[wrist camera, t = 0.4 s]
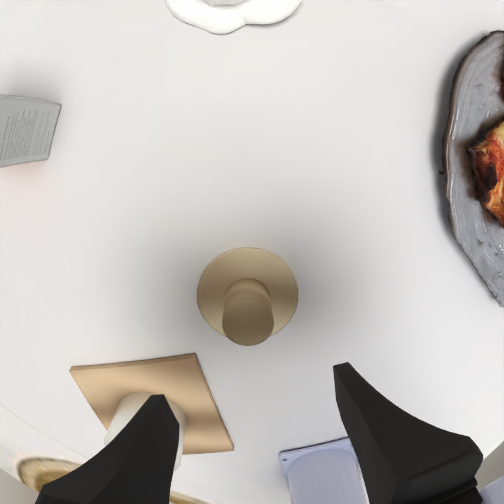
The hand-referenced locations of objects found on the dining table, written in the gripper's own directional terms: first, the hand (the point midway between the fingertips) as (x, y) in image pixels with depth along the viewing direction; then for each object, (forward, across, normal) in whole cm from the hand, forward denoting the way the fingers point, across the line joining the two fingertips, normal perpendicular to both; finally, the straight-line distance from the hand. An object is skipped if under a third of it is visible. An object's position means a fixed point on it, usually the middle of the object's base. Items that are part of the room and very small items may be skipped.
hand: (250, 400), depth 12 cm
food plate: (+11, -27, -5) cm, 29 cm away
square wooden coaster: (+10, +11, +10) cm, 18 cm away
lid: (+11, 0, 0) cm, 11 cm away
